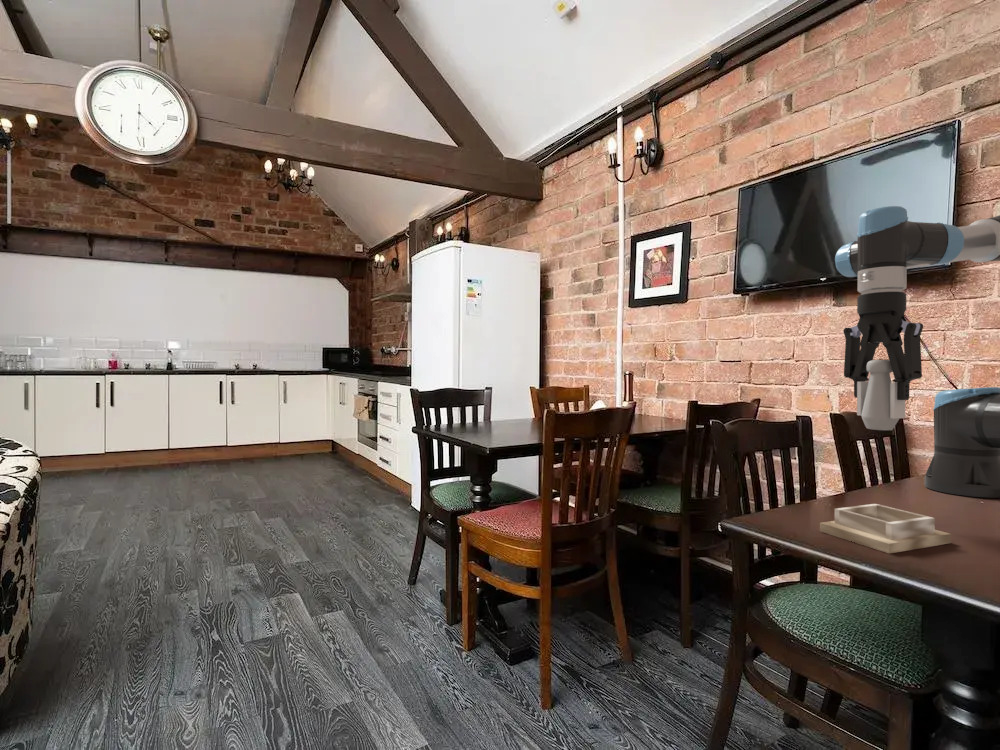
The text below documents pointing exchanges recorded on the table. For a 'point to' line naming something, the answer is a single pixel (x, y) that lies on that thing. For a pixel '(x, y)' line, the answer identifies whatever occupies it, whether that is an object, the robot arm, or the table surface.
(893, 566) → the table surface
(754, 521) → the table surface
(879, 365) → the salt shaker
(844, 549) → the table surface
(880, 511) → the tray
